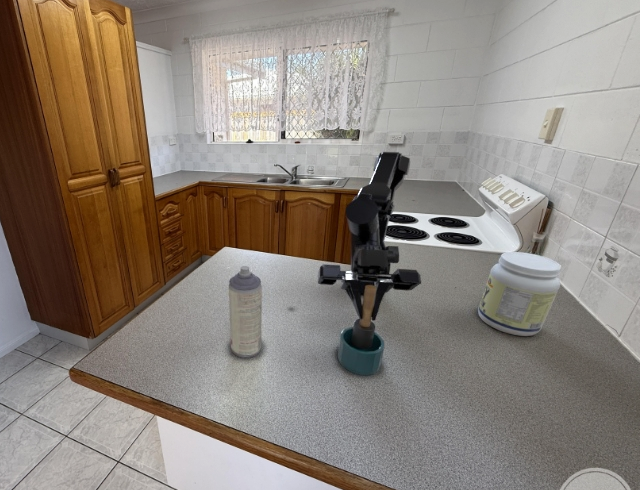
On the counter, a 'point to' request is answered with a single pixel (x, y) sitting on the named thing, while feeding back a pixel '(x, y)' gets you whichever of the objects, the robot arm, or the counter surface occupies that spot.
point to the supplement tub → (520, 293)
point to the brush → (365, 321)
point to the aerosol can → (245, 313)
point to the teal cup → (360, 354)
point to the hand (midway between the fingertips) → (367, 319)
